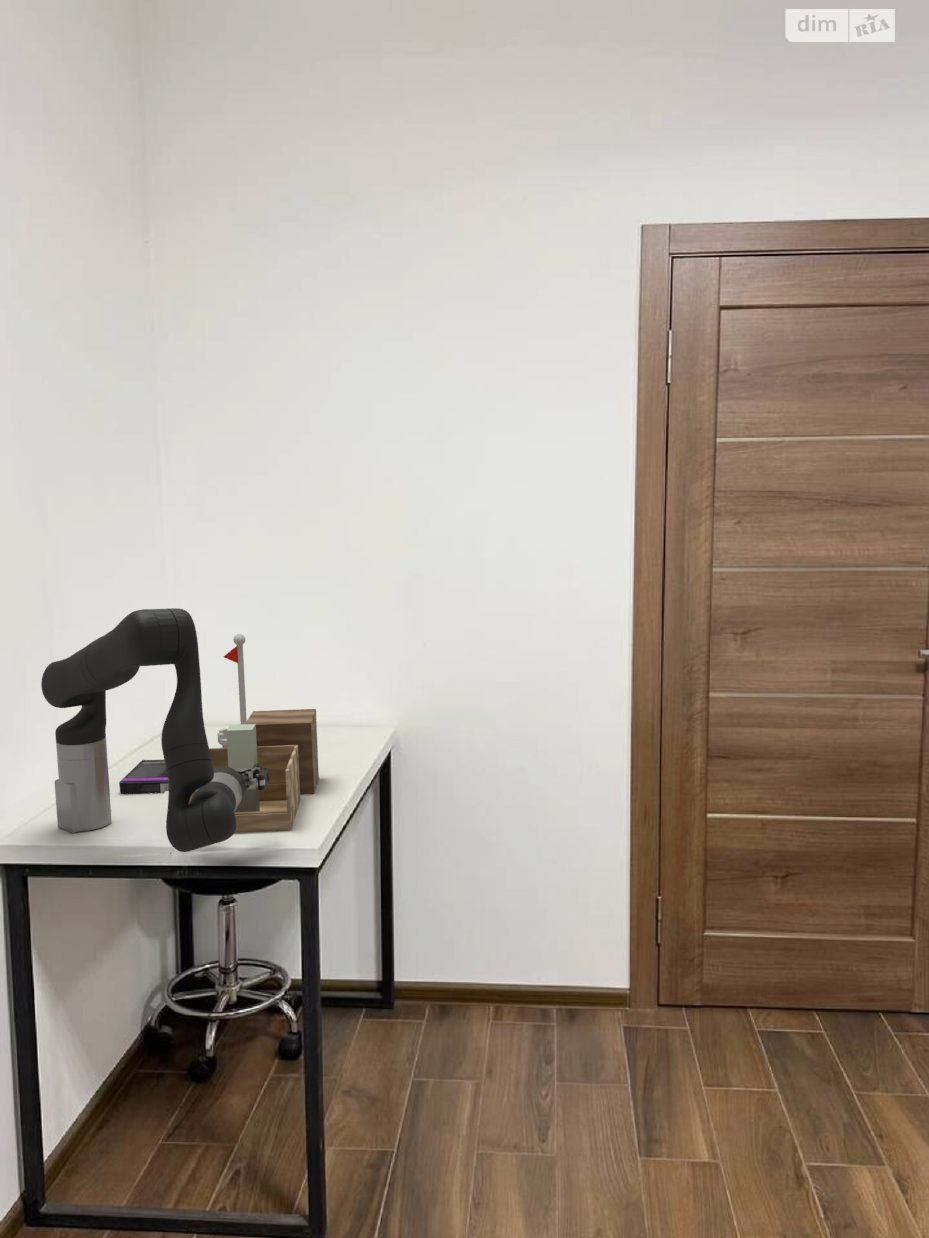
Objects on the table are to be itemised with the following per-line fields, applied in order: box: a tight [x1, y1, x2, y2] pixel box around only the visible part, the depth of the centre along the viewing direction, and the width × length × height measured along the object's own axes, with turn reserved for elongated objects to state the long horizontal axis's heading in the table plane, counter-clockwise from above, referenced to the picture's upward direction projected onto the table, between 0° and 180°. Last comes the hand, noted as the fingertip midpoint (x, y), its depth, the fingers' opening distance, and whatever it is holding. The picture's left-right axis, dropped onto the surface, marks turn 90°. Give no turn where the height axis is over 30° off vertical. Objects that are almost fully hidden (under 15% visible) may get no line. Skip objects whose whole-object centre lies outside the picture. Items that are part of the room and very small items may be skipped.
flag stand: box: [217, 633, 248, 748], centre depth 256 cm, size 13×13×30 cm
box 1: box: [118, 759, 169, 795], centre depth 232 cm, size 14×4×20 cm
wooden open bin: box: [189, 745, 301, 834], centre depth 204 cm, size 21×20×12 cm
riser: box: [245, 708, 320, 796], centre depth 224 cm, size 14×14×16 cm
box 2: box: [226, 724, 260, 812], centre depth 204 cm, size 5×5×18 cm
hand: (233, 769), depth 191 cm, fingers open, 8 cm apart
